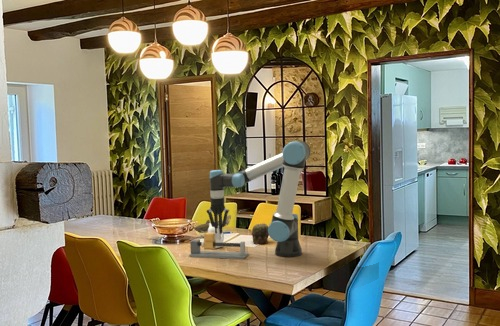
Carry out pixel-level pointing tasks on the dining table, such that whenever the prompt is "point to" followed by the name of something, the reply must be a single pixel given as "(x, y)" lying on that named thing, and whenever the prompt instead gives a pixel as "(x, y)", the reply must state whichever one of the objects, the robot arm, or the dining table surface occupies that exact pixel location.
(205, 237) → the sleeve
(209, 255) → the slider rail
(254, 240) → the carved stone head
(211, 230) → the cat figurine
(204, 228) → the wood carving
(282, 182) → the robot arm
